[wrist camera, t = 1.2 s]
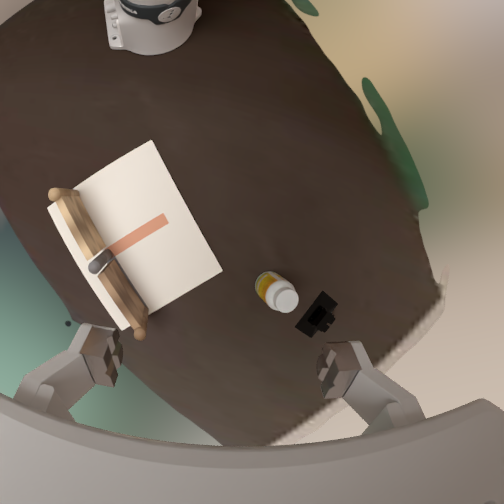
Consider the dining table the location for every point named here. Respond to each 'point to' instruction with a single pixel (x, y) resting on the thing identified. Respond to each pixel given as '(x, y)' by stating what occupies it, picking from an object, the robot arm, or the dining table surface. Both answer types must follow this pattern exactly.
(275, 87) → the dining table surface
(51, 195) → the folding fence section
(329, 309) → the black blocky piece
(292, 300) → the supplement bottle
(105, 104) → the dining table surface
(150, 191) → the card
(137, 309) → the fixed fence section
